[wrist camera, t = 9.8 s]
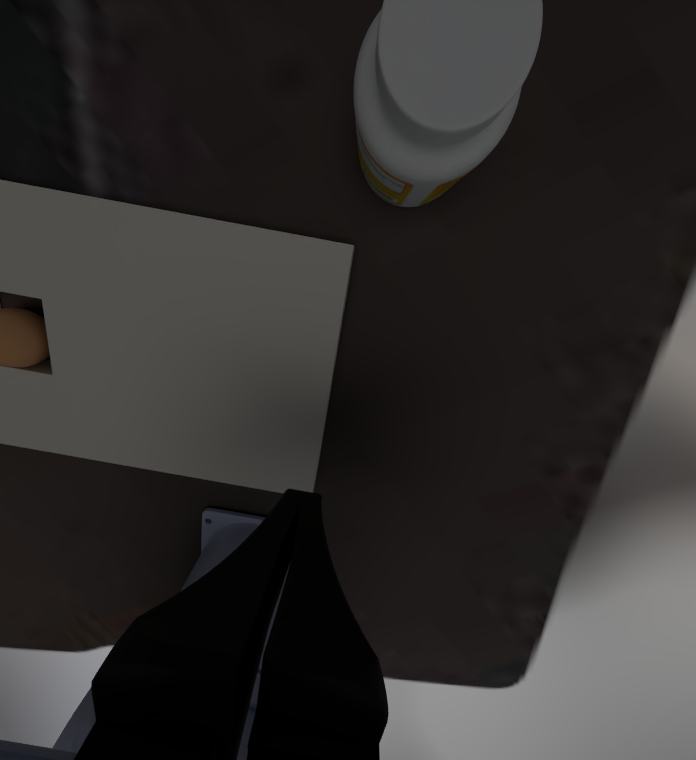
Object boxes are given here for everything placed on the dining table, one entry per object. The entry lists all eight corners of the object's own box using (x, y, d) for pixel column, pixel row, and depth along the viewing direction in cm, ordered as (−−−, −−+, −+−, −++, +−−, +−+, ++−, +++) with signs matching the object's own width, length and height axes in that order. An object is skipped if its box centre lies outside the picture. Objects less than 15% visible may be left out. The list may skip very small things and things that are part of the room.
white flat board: (354, 246, 19) (353, 245, 17) (315, 479, 25) (311, 498, 23) (-109, 160, 19) (-161, 149, 17) (-42, 416, 24) (-76, 430, 22)
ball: (70, 367, 22) (0, 382, 19) (36, 350, 23) (-36, 361, 20) (66, 315, 21) (-10, 321, 17) (31, 298, 22) (-48, 302, 18)
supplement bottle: (471, 83, 16) (605, -134, 7) (457, 208, 18) (549, 161, 9) (359, 84, 17) (350, -125, 7) (356, 208, 18) (346, 161, 9)
